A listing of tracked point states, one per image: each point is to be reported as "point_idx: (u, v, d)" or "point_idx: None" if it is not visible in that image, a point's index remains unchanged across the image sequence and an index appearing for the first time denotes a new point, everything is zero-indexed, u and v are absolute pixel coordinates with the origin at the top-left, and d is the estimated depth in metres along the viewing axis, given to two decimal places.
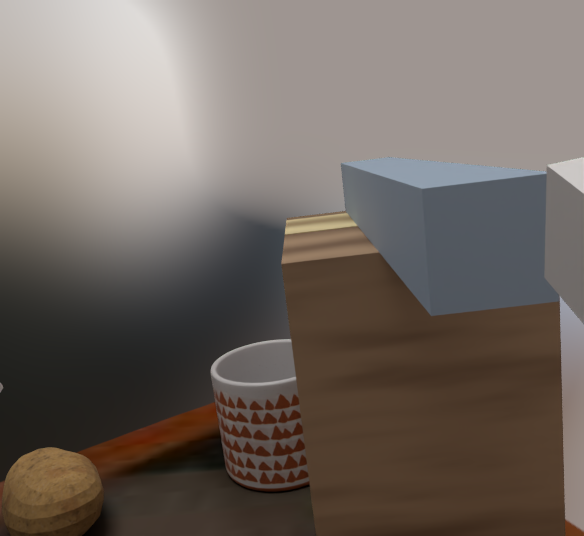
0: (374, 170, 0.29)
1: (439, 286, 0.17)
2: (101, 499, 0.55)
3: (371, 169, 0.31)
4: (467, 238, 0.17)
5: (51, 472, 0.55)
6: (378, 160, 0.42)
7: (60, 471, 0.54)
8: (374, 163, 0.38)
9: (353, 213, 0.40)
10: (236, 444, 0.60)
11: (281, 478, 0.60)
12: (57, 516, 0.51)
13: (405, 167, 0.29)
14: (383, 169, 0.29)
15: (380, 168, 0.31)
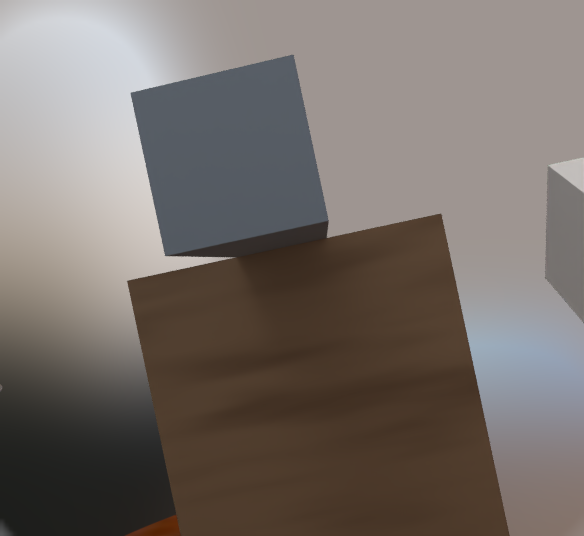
0: None
1: (170, 215, 0.13)
2: None
3: None
4: (195, 149, 0.13)
5: None
6: None
7: None
8: None
9: None
10: None
11: None
12: None
13: None
14: None
15: None
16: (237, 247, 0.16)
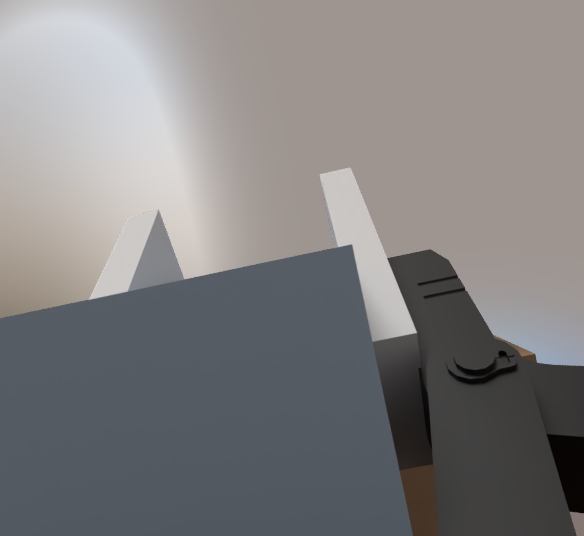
0: None
1: None
2: None
3: None
4: (109, 470, 0.05)
5: None
6: None
7: None
8: None
9: None
10: None
11: None
12: None
13: None
14: None
15: None
16: None
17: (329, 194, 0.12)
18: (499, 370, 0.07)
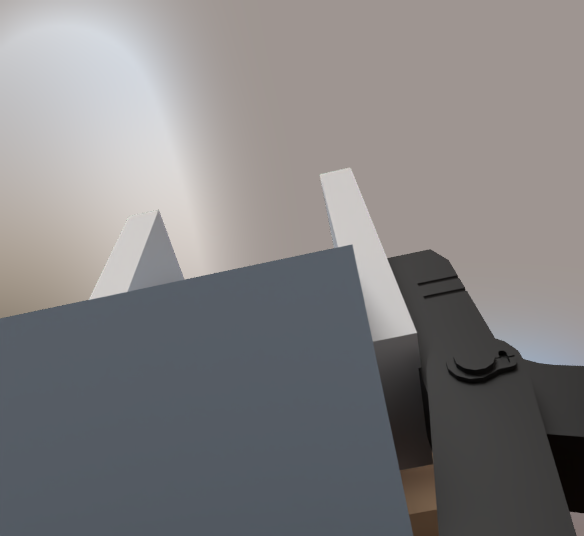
0: None
1: None
2: None
3: None
4: (110, 470, 0.05)
5: None
6: None
7: None
8: None
9: None
10: None
11: None
12: None
13: None
14: None
15: None
16: None
17: (329, 194, 0.12)
18: (499, 370, 0.07)
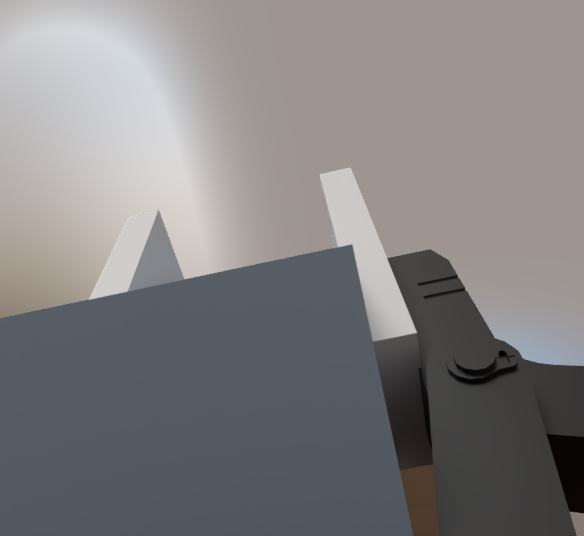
0: None
1: None
2: None
3: None
4: (109, 469, 0.05)
5: None
6: None
7: None
8: None
9: None
10: None
11: None
12: None
13: None
14: None
15: None
16: None
17: (329, 194, 0.12)
18: (499, 369, 0.07)
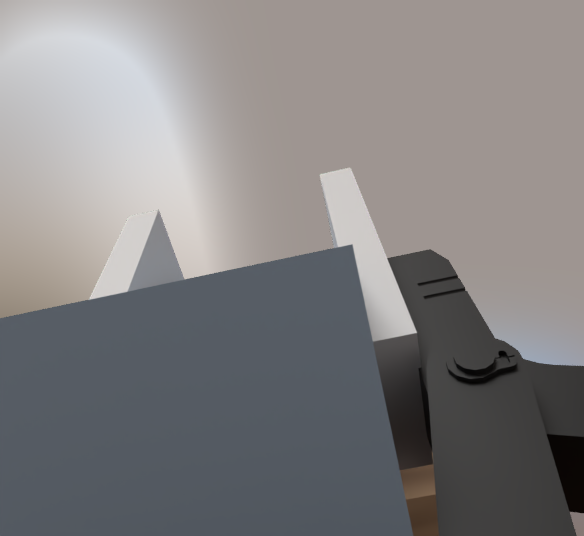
0: None
1: None
2: None
3: None
4: (110, 471, 0.05)
5: None
6: None
7: None
8: None
9: None
10: None
11: None
12: None
13: None
14: None
15: None
16: None
17: (328, 195, 0.12)
18: (499, 370, 0.07)
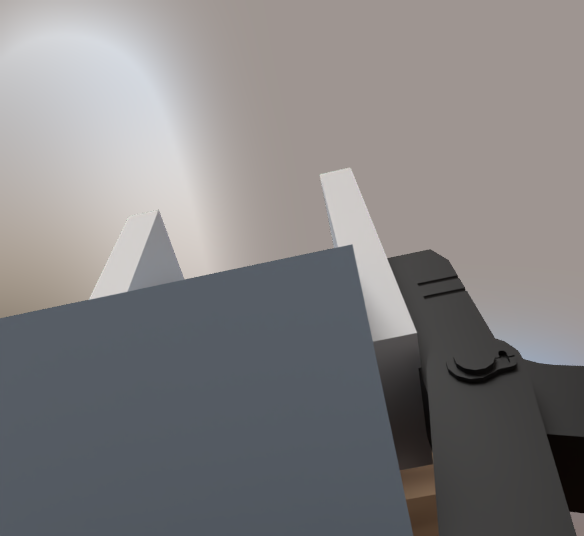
0: None
1: None
2: None
3: None
4: (110, 471, 0.05)
5: None
6: None
7: None
8: None
9: None
10: None
11: None
12: None
13: None
14: None
15: None
16: None
17: (329, 195, 0.12)
18: (499, 370, 0.07)
